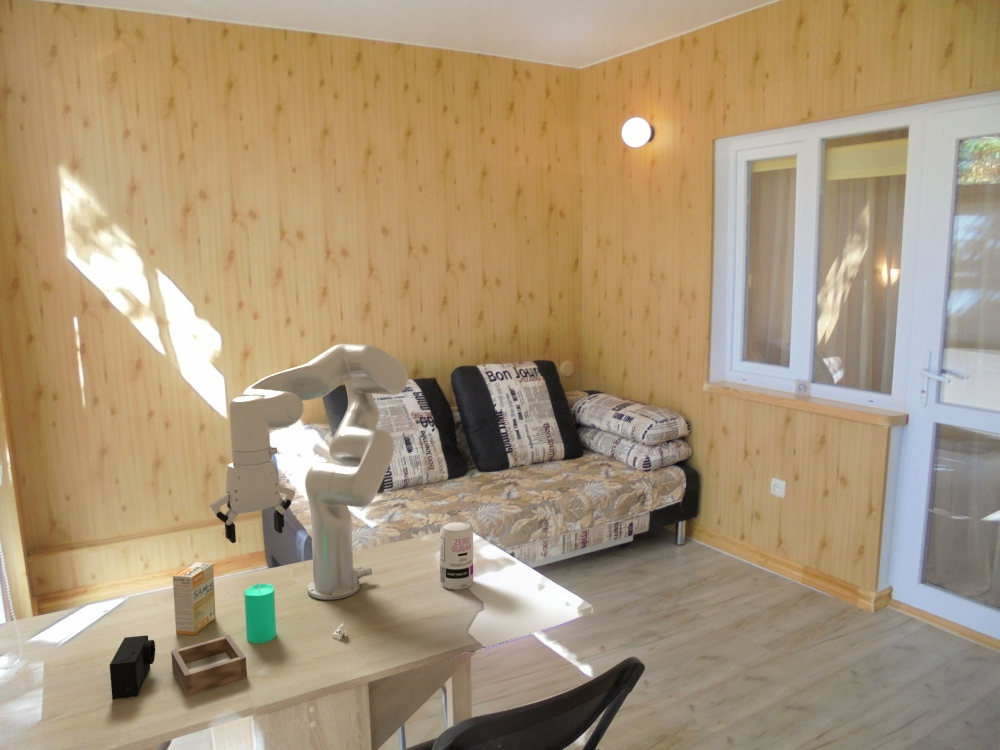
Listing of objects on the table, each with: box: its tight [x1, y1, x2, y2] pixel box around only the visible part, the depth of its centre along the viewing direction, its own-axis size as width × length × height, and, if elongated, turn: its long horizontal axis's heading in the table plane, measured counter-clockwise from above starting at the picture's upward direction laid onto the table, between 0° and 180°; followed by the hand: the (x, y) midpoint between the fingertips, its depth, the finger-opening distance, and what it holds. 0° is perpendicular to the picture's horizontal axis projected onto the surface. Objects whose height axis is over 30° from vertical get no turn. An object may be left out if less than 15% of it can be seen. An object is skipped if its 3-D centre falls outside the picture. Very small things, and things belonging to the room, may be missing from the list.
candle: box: [243, 583, 277, 644], centre depth 157 cm, size 6×6×12 cm
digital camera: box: [109, 634, 156, 701], centre depth 140 cm, size 10×5×7 cm, turn 13°
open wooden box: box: [171, 634, 248, 697], centre depth 143 cm, size 11×11×4 cm
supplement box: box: [172, 561, 217, 636], centre depth 162 cm, size 8×5×13 cm, turn 168°
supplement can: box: [439, 520, 474, 591], centre depth 183 cm, size 8×8×15 cm
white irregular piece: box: [331, 622, 348, 641], centre depth 158 cm, size 3×3×3 cm
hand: (255, 536), depth 155 cm, fingers open, 9 cm apart
